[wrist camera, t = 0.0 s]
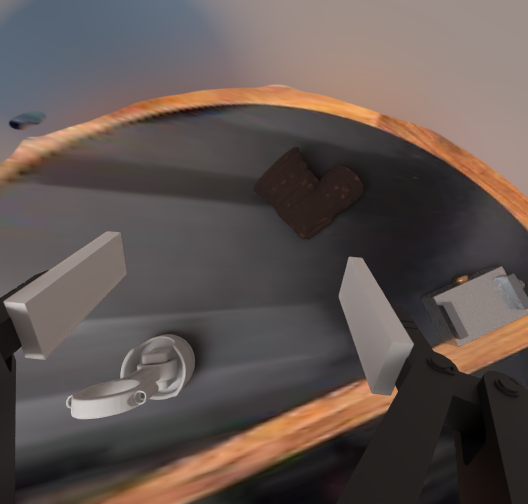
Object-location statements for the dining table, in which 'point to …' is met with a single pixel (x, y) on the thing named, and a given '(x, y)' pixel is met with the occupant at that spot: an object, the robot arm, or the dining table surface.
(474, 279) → the machine vise
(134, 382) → the engine component
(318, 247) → the dining table surface
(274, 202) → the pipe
